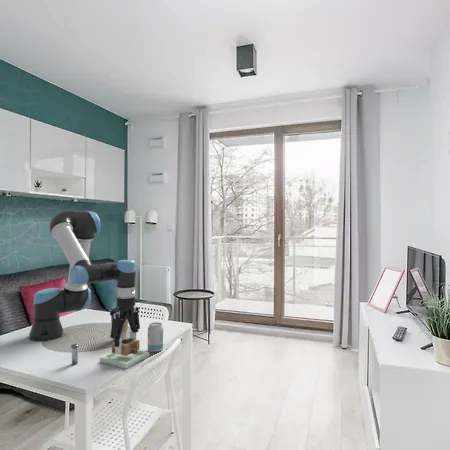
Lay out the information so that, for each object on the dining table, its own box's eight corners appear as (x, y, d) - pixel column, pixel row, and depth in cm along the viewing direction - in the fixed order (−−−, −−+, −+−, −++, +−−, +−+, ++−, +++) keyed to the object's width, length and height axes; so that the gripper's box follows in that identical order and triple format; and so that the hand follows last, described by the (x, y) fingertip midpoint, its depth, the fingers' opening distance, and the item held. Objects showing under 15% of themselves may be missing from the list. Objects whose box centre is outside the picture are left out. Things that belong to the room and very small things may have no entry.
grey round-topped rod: (69, 364, 139) (69, 345, 139) (75, 361, 142) (75, 343, 142) (74, 365, 138) (74, 346, 138) (79, 363, 140) (80, 344, 140)
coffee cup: (123, 344, 163) (124, 312, 163) (105, 342, 165) (106, 311, 165) (132, 337, 172) (133, 307, 172) (115, 336, 174) (116, 306, 174)
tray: (100, 362, 142) (100, 357, 142) (124, 350, 154) (124, 346, 154) (126, 368, 135) (126, 363, 135) (149, 356, 148) (149, 352, 148)
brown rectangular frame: (111, 352, 143) (111, 343, 143) (124, 346, 150) (125, 337, 150) (129, 356, 139) (129, 346, 139) (142, 350, 146) (142, 340, 146)
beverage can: (148, 347, 158) (148, 322, 158) (163, 347, 159) (164, 321, 159) (146, 353, 152) (146, 326, 152) (162, 353, 152) (162, 326, 152)
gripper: (115, 302, 134) (114, 360, 134) (148, 293, 153) (148, 344, 153) (100, 300, 137) (100, 357, 137) (135, 291, 156) (135, 341, 156)
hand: (125, 350), depth 145 cm, fingers closed on brown rectangular frame, 8 cm apart
